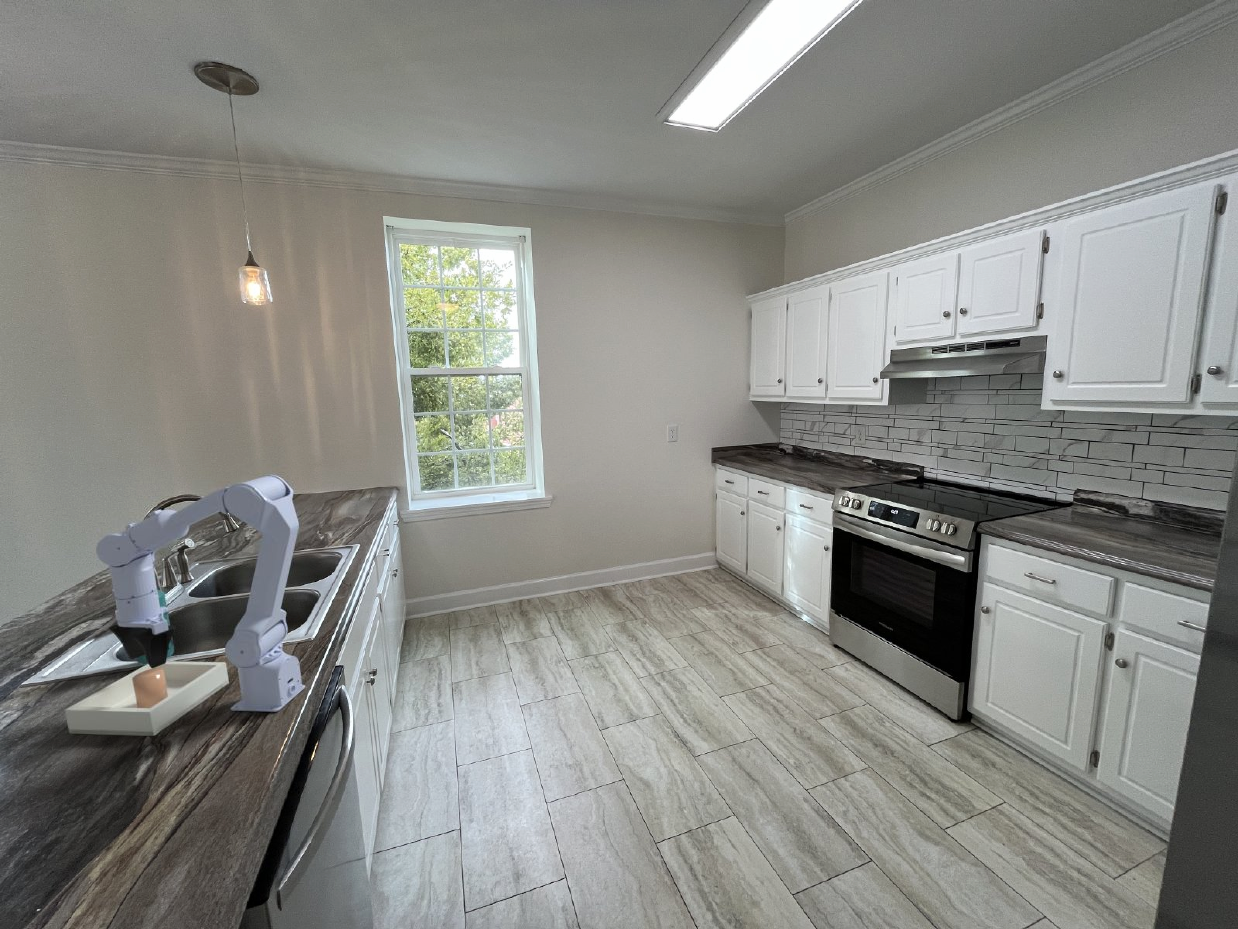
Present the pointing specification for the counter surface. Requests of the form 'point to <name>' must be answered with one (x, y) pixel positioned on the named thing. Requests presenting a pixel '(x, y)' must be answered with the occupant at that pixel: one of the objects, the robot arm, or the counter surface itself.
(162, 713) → the bin
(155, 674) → the peach cylinder
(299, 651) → the counter surface
